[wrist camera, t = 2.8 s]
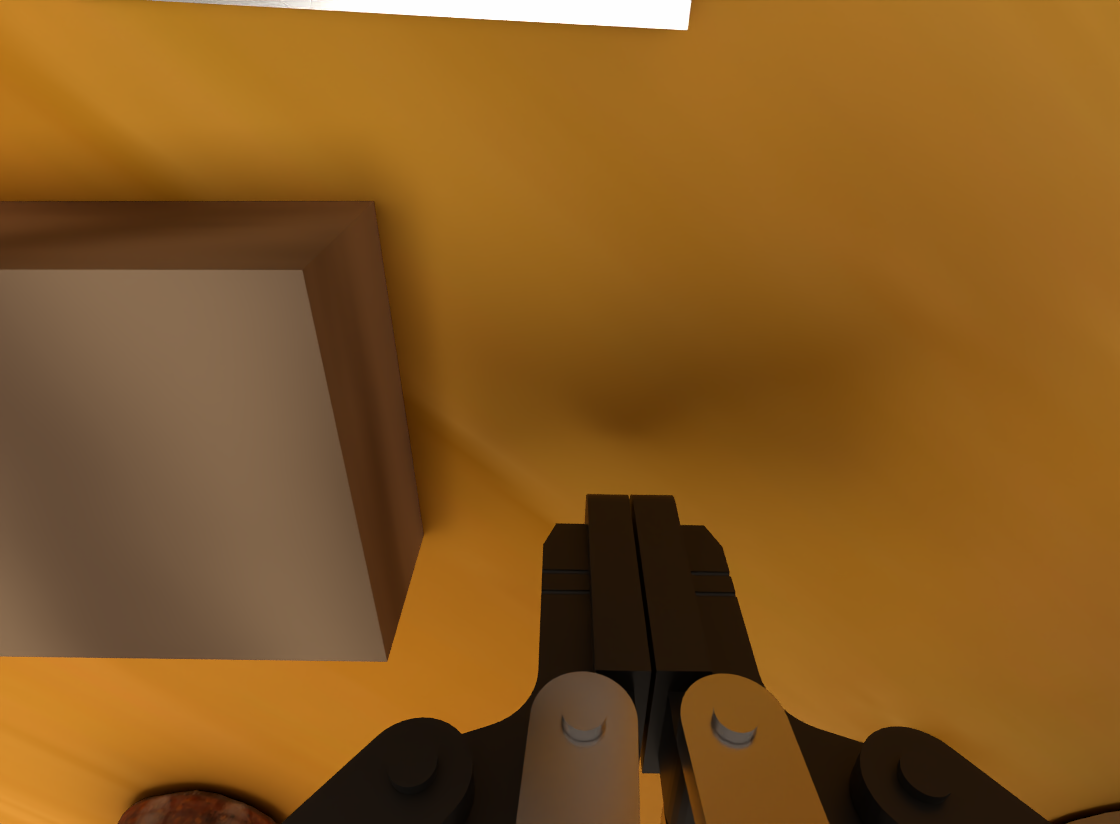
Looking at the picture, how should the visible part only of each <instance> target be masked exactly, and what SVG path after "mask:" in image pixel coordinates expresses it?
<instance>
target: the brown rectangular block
mask: <svg viewBox="0 0 1120 824" xmlns="http://www.w3.org/2000/svg"><path fill="white" fill-rule="evenodd" d="M423 536H424V533H423V526H422V519H421V513H420V506H419V499H418V493H417V486H416V479H415V473H414V466H413V459H412V453H411V446H410V439H409V433H408V426H407V419H406V412H405V406H404V399H403V392H402V386H401V379H400V372H399V366H398V359H397V352H396V346H395V339H394V332H393V326H392V319H391V312H390V306H389V299H388V292H387V286H386V279H385V272H384V265H383V259H382V252H381V245H380V239H379V232H378V225H377V219H376V212H375V205H374V201H0V656H12V657H85V658H158V659H231V660H304V661H377V662H387V660H388V657H389V654H390V650H391V647H392V643H393V640H394V636H395V633H396V629H397V626H398V622H399V619H400V615H401V612H402V609H403V605H404V602H405V598H406V595H407V591H408V588H409V584H410V581H411V577H412V574H413V570H414V567H415V563H416V560H417V557H418V553H419V550H420V546H421V543H422V539H423Z"/></svg>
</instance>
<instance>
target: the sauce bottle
mask: <svg viewBox="0 0 1120 824" xmlns="http://www.w3.org/2000/svg"><path fill="white" fill-rule="evenodd" d="M118 824H276V823H275V822H274V821H273V819H272V818H270V817H269V816H267V815H265V814H263V813H261V812H260V811H258V810H257V809H255V808H254V807H252V806H249V805H246V804H245V803H243V802H239V801H236V800H233V799H230V798H228V797H225V796H223V795H220V794H217V793H212V792H205V791H199V790H194V791H187V792H178V793H173V794H166V795H162V796H153V797H150V798H146V799H143V800H142V801H138V802H136V803H135V804H134V805H133V806H131V807H130V808H129V809H128V810H127V811H126V812H125V813H124V814H123V815H122V817H121V819H120V820H119V822H118Z"/></svg>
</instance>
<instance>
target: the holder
mask: <svg viewBox="0 0 1120 824" xmlns="http://www.w3.org/2000/svg"><path fill="white" fill-rule="evenodd" d="M154 1H172V2H190V3H208V4H226V5H244V6H262V7H280V8H298V9H316V10H334V11H352V12H370V13H388V14H406V15H424V16H442V17H460V18H478V19H496V20H514V21H532V22H550V23H568V24H586V25H604V26H622V27H640V28H658V29H676V30H688V22H689V14H690V6H691V0H154Z"/></svg>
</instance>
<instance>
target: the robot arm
mask: <svg viewBox="0 0 1120 824" xmlns="http://www.w3.org/2000/svg"><path fill="white" fill-rule="evenodd" d="M640 757H641V767H642V773H660V778H661V787H662V795H663V809H662V814H661V824H1051V823H1050V822H1049V821H1047V820H1046V819H1045V818H1043V817H1042V816H1041V815H1039V814H1038V813H1037V812H1035V811H1034V810H1033V809H1031V808H1030V807H1029V806H1027V805H1026V804H1025V803H1023V802H1022V801H1021V800H1019V799H1018V798H1017V797H1016V796H1014V795H1013V794H1012V793H1010V792H1009V791H1008V790H1006V789H1005V788H1004V787H1002V786H1001V785H1000V784H998V783H997V782H996V781H994V780H993V779H992V778H990V777H989V776H988V775H986V774H985V773H984V772H983V771H981V770H980V769H979V768H977V767H976V766H975V765H973V764H972V763H971V762H969V761H968V760H967V759H965V758H964V757H963V756H961V755H960V754H959V753H957V752H956V751H955V750H953V749H952V748H951V747H949V746H948V745H947V744H945V743H944V742H942V741H941V740H939V739H937V738H935V737H933V736H931V735H930V734H927V733H924V732H922V731H919V730H916V729H912V728H907V727H887V728H882V729H880V730H878V731H876V732H874V733H873V734H871V735H870V736H869V737H868V738H867V739H866V741H865V742H864V743H862V742H859V741H855V740H852V739H849V738H846V737H843V736H840V735H836V734H833V733H830V732H827V731H824V730H821V729H818V728H815V727H813V726H810V725H808V724H806V723H804V722H802V721H800V720H798V719H796V718H795V717H793V716H792V715H790V714H789V713H788V712H786V711H785V710H784V709H783V707H782V706H781V705H780V703H779V702H778V700H777V699H776V698H775V697H774V696H773V695H772V694H771V693H770V692H769V691H768V690H766V688H765V686H764V684H763V683H762V680H761V678H760V675H759V672H758V669H757V665H756V662H755V658H754V655H753V651H752V648H751V644H750V641H749V638H748V634H747V631H746V627H745V624H744V620H743V617H742V613H741V610H740V606H739V603H738V600H737V597H735V589H734V586H733V582H732V579H731V577H730V576H729V568H728V565H727V562H726V558H725V555H724V551H723V548H722V546H721V545H720V544H719V543H718V541H717V540H716V539H715V538H714V537H713V536H712V534H711V533H710V532H709V531H708V530H707V529H706V527H705V526H699V525H680V521H679V517H678V512H677V508H676V503H675V499H674V497H673V496H672V495H631V496H630V499H629V496H628V495H604V494H587V495H586V509H585V524H556V525H555V527H554V528H553V530H552V531H551V533H550V535H549V536H548V538H547V540H546V541H545V543H544V544H543V567H542V595H541V618H540V643H539V669H538V678H537V682H536V685H535V688H534V690H533V692H532V694H531V696H530V697H529V698H528V700H527V701H526V703H525V704H524V705H523V706H522V707H521V708H520V709H519V710H518V711H516V712H515V713H514V714H512V715H511V716H509V717H508V718H506V719H504V720H502V721H500V722H497V723H495V724H492V725H489V726H486V727H483V728H480V729H476V730H473V731H470V732H467V733H464V734H461V733H460V732H459V731H458V730H457V729H456V728H455V727H453V726H452V725H450V724H448V723H446V722H444V721H442V720H438V719H434V718H423V717H422V718H413V719H409V720H405V721H402V722H399V723H397V724H394V725H393V726H391V727H389V728H388V729H386V730H384V731H383V732H382V733H381V734H379V735H378V736H377V737H376V738H375V739H373V740H372V741H371V742H370V743H369V744H368V745H367V746H366V747H365V748H364V749H362V750H361V751H360V752H359V753H358V754H357V755H356V756H355V757H354V758H353V759H351V760H350V761H349V762H348V763H347V764H346V765H345V766H344V767H343V768H342V769H340V770H339V771H338V772H337V773H336V774H335V775H334V776H333V777H332V778H331V779H329V780H328V781H327V782H326V783H325V784H324V785H323V786H322V787H321V788H320V789H318V790H317V791H316V792H315V793H314V794H313V795H312V796H311V797H310V798H309V799H307V800H306V801H305V802H304V803H303V804H302V805H301V806H300V807H299V808H298V809H296V810H295V811H294V812H293V813H292V814H291V815H290V816H289V817H288V818H287V819H285V820H284V821H283V822H282V823H281V824H640V798H639V760H640ZM1067 824H1120V811H1116V812H1109V813H1104V814H1100V815H1096V816H1092V817H1088V818H1084V819H1080V820H1076V821H1072V822H1069V823H1067Z"/></svg>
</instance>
